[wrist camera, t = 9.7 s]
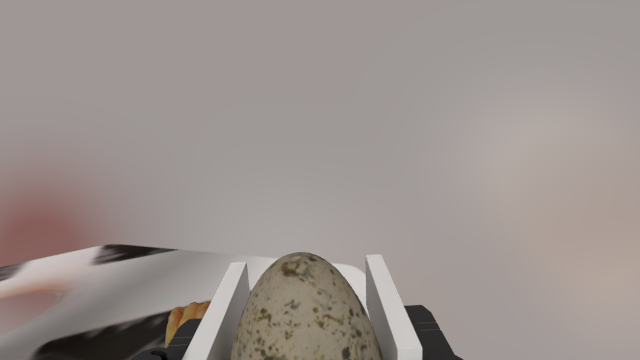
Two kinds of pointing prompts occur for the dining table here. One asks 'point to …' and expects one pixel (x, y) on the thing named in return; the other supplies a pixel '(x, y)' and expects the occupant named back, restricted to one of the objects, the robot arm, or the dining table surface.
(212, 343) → the robot arm
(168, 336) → the pastry
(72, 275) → the dining table surface
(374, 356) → the decorative egg
